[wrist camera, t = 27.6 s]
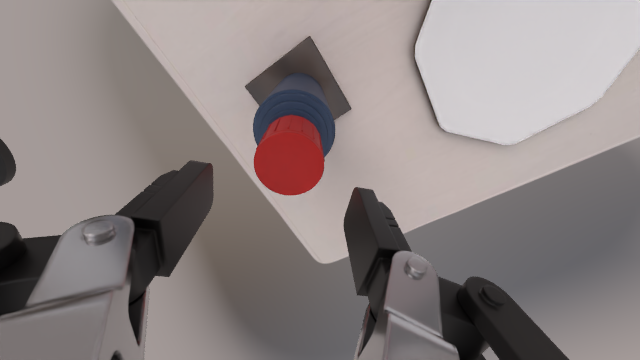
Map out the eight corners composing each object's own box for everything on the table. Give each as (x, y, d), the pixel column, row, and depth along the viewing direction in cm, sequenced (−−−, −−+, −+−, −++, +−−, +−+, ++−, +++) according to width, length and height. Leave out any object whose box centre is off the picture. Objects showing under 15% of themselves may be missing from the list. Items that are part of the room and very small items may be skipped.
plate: (686, -248, 19) (715, -271, 18) (652, 68, 31) (668, 68, 30) (381, -21, 25) (385, -25, 24) (452, 169, 37) (457, 173, 36)
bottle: (294, 132, 32) (279, 223, 15) (265, 92, 30) (207, 148, 13) (333, 106, 31) (364, 175, 14) (306, 61, 28) (303, 79, 11)
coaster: (292, 146, 34) (291, 148, 33) (245, 85, 30) (244, 86, 29) (350, 107, 32) (351, 108, 31) (309, 36, 27) (309, 35, 27)
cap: (287, 177, 17) (282, 206, 14) (252, 135, 16) (237, 157, 12) (331, 150, 16) (337, 174, 13) (299, 102, 15) (297, 116, 12)
